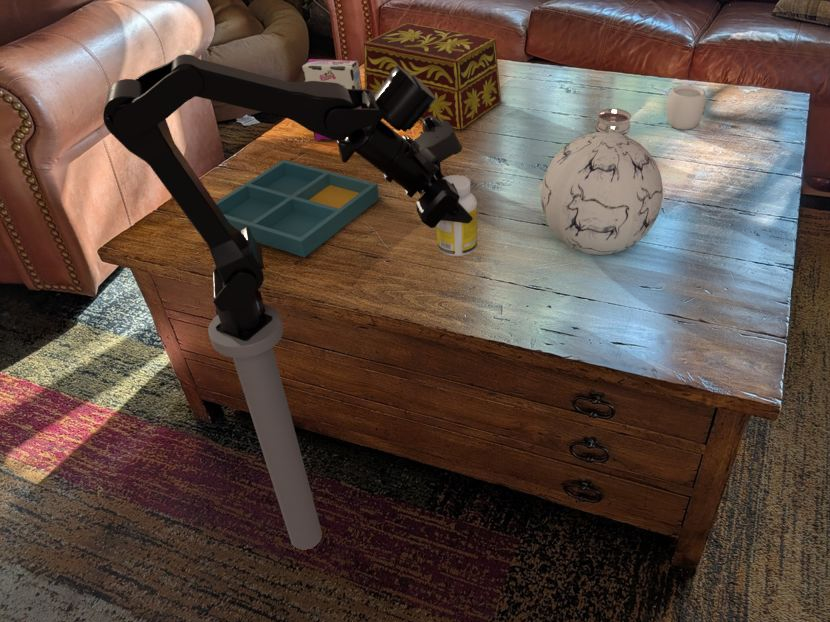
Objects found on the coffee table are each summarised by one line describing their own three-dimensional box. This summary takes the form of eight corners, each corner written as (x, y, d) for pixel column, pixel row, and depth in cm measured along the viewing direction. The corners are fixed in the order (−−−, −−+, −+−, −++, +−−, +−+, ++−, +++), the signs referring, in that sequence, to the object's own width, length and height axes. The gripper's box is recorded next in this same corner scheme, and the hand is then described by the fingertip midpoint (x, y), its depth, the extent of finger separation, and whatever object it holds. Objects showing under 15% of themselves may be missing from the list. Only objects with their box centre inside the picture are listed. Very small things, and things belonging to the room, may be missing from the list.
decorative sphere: (677, 254, 125) (699, 144, 112) (587, 292, 117) (599, 178, 104) (602, 206, 138) (614, 102, 125) (516, 237, 130) (519, 130, 117)
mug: (695, 136, 161) (702, 101, 155) (658, 128, 164) (663, 94, 159) (710, 116, 168) (717, 82, 163) (674, 109, 172) (680, 76, 166)
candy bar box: (368, 134, 164) (359, 59, 153) (362, 143, 160) (352, 68, 149) (321, 131, 165) (309, 57, 154) (313, 140, 161) (300, 65, 151)
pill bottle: (481, 239, 119) (481, 174, 112) (471, 260, 114) (470, 194, 107) (443, 234, 120) (441, 169, 113) (431, 255, 116) (428, 189, 108)
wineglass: (631, 174, 147) (639, 117, 139) (604, 183, 145) (611, 125, 137) (610, 162, 152) (616, 105, 144) (584, 170, 149) (589, 113, 141)
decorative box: (364, 107, 175) (356, 42, 165) (409, 82, 187) (404, 20, 177) (460, 131, 164) (458, 63, 154) (501, 102, 176) (502, 38, 166)
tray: (304, 257, 126) (301, 241, 124) (206, 226, 134) (201, 210, 132) (379, 199, 141) (377, 183, 139) (286, 174, 149) (283, 159, 147)
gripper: (442, 136, 95) (519, 200, 104) (411, 85, 108) (482, 146, 118) (388, 199, 98) (467, 255, 108) (364, 142, 112) (437, 196, 121)
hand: (464, 210), depth 113 cm, fingers closed on pill bottle, 6 cm apart
